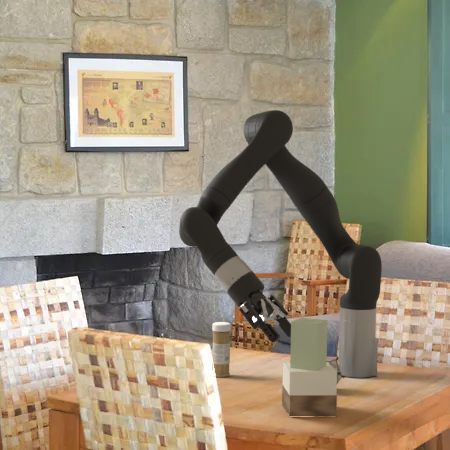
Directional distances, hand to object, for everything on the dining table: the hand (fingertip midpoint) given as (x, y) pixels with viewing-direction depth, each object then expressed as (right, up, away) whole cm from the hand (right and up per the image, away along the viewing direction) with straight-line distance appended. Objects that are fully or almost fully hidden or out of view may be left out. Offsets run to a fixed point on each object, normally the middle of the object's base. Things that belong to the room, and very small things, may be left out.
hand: (285, 337), depth 210 cm
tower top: (+5, -11, -2) cm, 12 cm away
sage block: (+5, -6, -3) cm, 8 cm away
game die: (+11, -15, +18) cm, 26 cm away
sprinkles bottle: (-14, -14, +32) cm, 38 cm away
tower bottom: (+5, -16, -2) cm, 17 cm away
